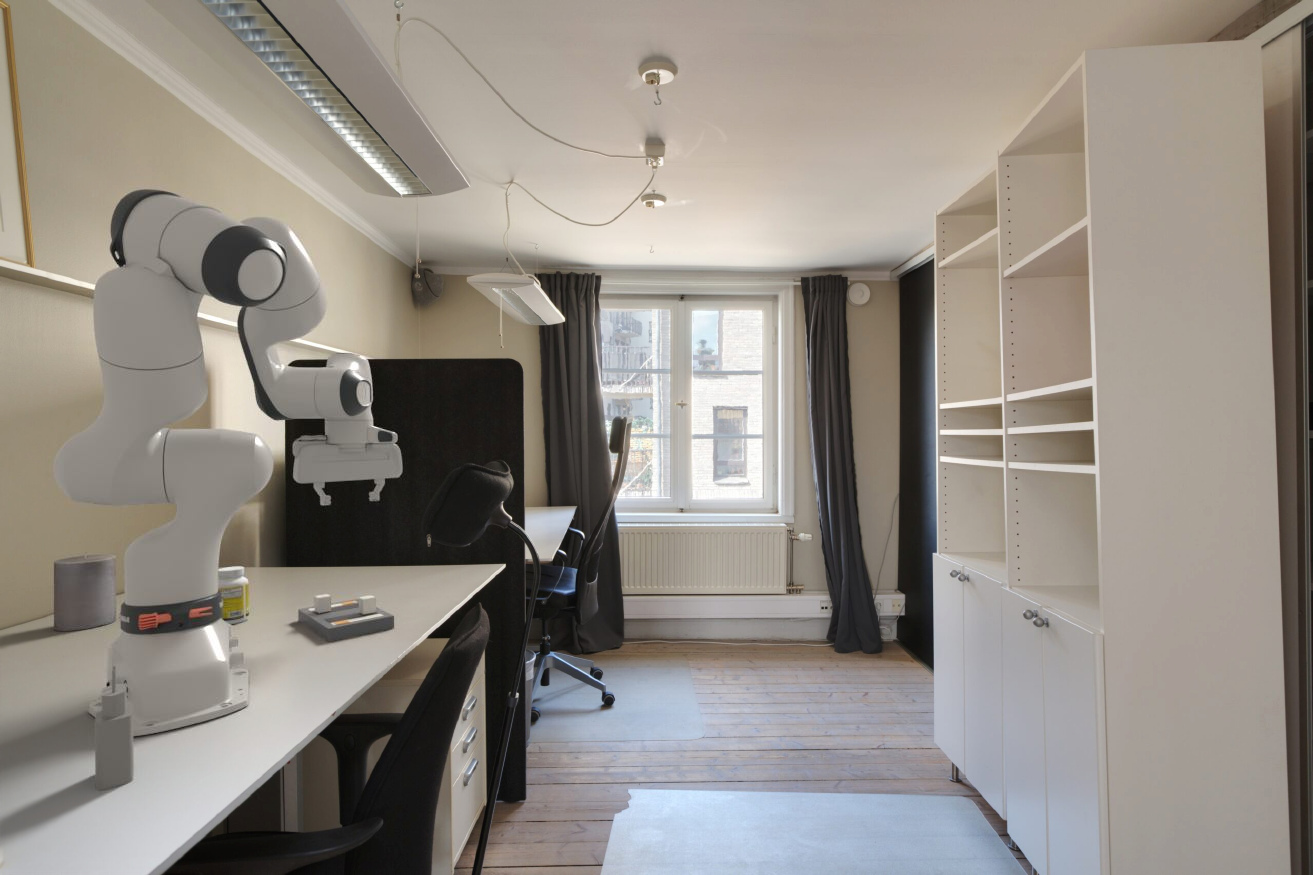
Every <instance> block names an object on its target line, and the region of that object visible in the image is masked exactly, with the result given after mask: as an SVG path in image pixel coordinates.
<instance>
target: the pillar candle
mask: <svg viewBox="0 0 1313 875" xmlns="http://www.w3.org/2000/svg"><path fill="white" fill-rule="evenodd" d="M116 561H117V560H116V555H115V554H93V555H92V554H91V555H87V551H85V553H84V555H80V556H71V557H65V558H61V559H57V560H55V561H53V562H54V563H53V629H54V631H57V632H58V631H59V632H70V631H81V630H82V631H83V630H89V629H92V628H96V627H99V626H104V625H110V624H112V623H114V622H115V621H116V620H117V584H116V583H117V577H116V576H117V574H116V572H117V571H116V569H117V568H116Z"/></svg>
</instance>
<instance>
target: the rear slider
mask: <svg viewBox="0 0 1313 875" xmlns="http://www.w3.org/2000/svg"><path fill="white" fill-rule="evenodd" d="M313 597H314V598H313V599H314V600H313V602H314V603H313V604H314V606H313V607H314V611H316V612H317V613H322V612H327V611H331V604H332V596H331V595H330V594H328V593H325V594H318V595H314V596H313Z"/></svg>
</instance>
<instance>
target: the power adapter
mask: <svg viewBox="0 0 1313 875" xmlns="http://www.w3.org/2000/svg"><path fill="white" fill-rule="evenodd" d="M100 699H101V705H102V707H101V708H99V709H97V712H96V717H94V718H95V719H94V767H95V768H94V770H95V771H94V772H95V776H94V777H95V780H94V781H95V790H96V791H104V790H105V791H106V790H108V789H113V788H115V787H119V786H123V785H126V784H129V783H131V782H132V781H134V771H135V770H134V769H135V766H134V765H135V762H134V760H135V759H134V758H135V756H134V736H133V702H127V685H126V684H116V666H113V671H112V685H110V686H108V687H106V686H105V687H104V688H102V690H101V696H100Z"/></svg>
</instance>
